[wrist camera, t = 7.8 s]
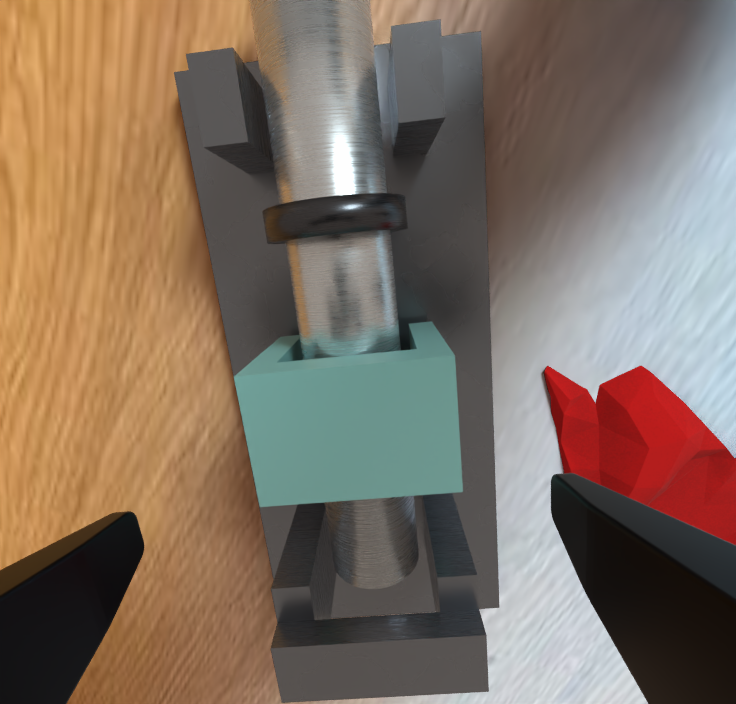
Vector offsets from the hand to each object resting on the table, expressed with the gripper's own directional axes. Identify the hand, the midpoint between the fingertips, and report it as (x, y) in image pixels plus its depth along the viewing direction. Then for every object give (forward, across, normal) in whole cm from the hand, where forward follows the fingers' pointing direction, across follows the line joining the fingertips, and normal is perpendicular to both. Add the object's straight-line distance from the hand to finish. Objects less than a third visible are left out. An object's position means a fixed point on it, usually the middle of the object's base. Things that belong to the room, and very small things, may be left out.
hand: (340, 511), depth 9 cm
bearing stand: (+11, 0, +1) cm, 11 cm away
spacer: (+10, 0, 0) cm, 10 cm away
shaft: (+9, 0, -4) cm, 10 cm away
